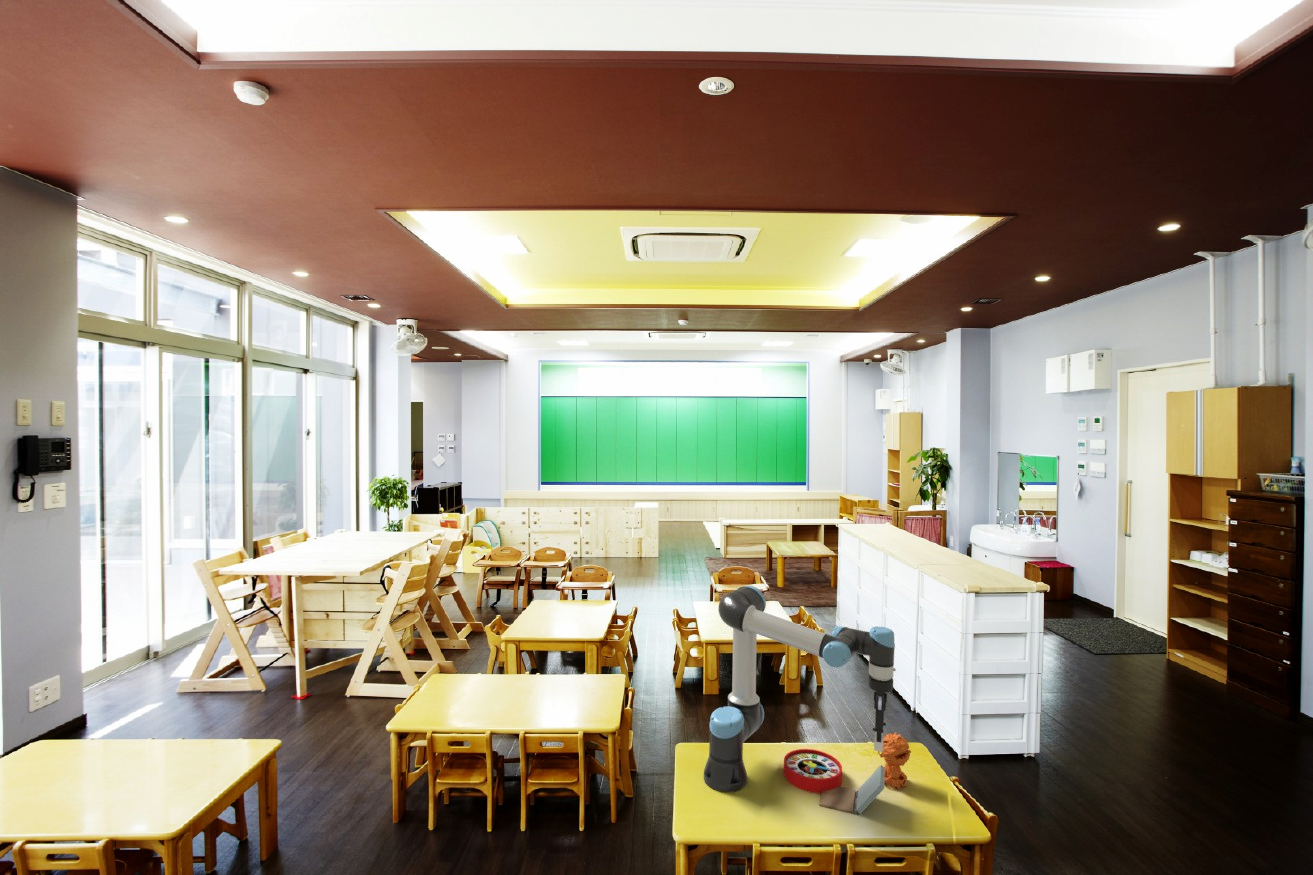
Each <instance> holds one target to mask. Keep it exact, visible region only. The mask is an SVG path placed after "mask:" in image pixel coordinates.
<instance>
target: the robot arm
mask: <svg viewBox="0 0 1313 875" xmlns="http://www.w3.org/2000/svg"><path fill="white" fill-rule="evenodd" d="M766 607H767V600H766V597H765V595H764V593H763V592H762V591H761V590H760V589H759V588H758V587H756V586H753V585H743V586H740V587H738V588H736V589H734V590H733V591H730V592H728V593H726V594H724V595H723V596H722V598H721V599H720V600H719V602H718V614H719V617H720V619H721V620H722V622H723V623H724V624H726V625H727V626H728V627H730V628H732V629H733V630H732V684H731V686H732V687H731V688H732V689H731V692H730V693H729V694H728V695H727V706H726V705H725V706H723V707H722V706H720V707H718V708H716V709H715V710H714V711H712V713H711V715H710V719H709V720H710V721H709V742H708V744H709V747H708V748H709V749H708V750H709V754H708V758H707V761H706V764H705V767H704V769H703V780H704V783H705V784H706V785H707V786H708V787H710V788H711V789H713V790H717V791H719V792H724V793H725V792H727V793H730V792H731V793H733V792H737V791H741V790H742V789H744V788H745V787H746V786H747V784H748V774H747V770H746V767H745V763H744V758H743V753H744V752H743V750H744V742H745V741H746V740H748V738H750V737H751V736H752V735H753V734H754V733H756V732H757V731H758V730H759V729H760V727H761V726H762V724H763V721H764V718H765V711H764V707H763V705H762V704H761V701H760V696H759V695H758V694H757V693H756V692H757V687H756V686H757V637H758V636H757V635H760V636H761V637H764V638H768V639H770V640H773V641H774V642H778V643H781V644H783V645H786V646H789V647H792V648H794V649H798V650H800V651H802V652H806V653H809V654H811V655H814V656H817V657H819V658H821V659H823V660H824V661H825V663H826V664H827V665H828V666H830V667H831V668H838V669H839V668H841V667H843V666H845V665H847V663H848V662H850V659H852V658H853V657H854V656H855V654H856V655H862V656H868V657H869V659H868V660H869V661H868V674H869V675H868V687H869V688H870V689H871V690H873V691H874V692H873V701H874V703H873V704H874V705H873V709H874V710H875V716H874V717H875V719H874V727H872V731H874V741H873V745H874V746H873V750H874V751H875V752H876V751H877V752H878V751H879V752H881V753H882V752H883V739H884V737H885V736H884V735H885V734H884V732H885V727H886V726H887V722H885V711H886V708H887V705H886V704H887V702H888V701H887V700H888V699H887V698H888V693H891V692H892V691H894V679H893V678H894V672H896V670H897V669H896V668H895V667H894V664H895V663H894V662H895V648H896V644H895V632H894V631H893V629H890V628H888V627H885V626H878V625H877V626H873V627H872V626H871V628H870V631H865V630H861V629H860V630H859V629H855V628H850V627H847V626H839V625H838V626H837V625H836V626H835V627H834V628H833V631H832V632H831V635H830V634H827V633H825V632H822V631H819V630H816V629H813V628H810V627H808V626H804V625H802V624H798V623H796V622H794V621H790V620H788V619H785V618H781V617H779V616H776V615H773V614H771V613H767V612H765V610H766Z"/></svg>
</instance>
